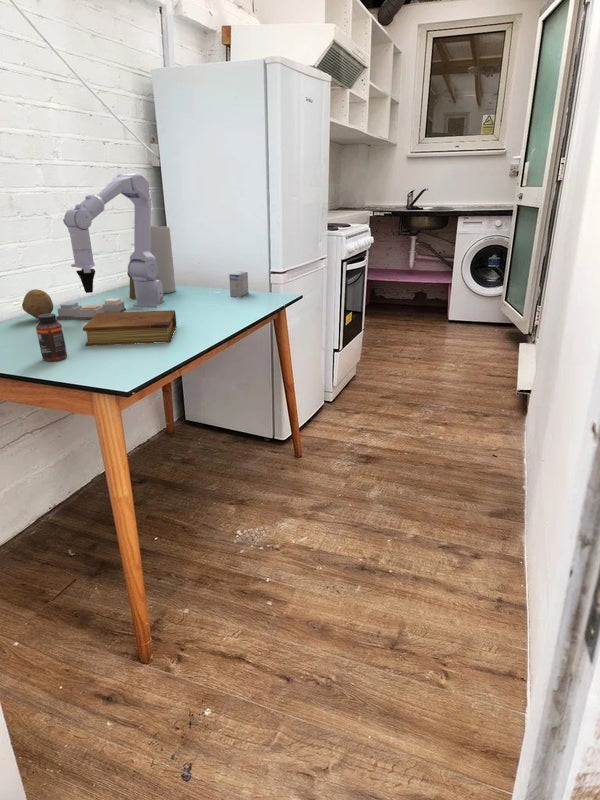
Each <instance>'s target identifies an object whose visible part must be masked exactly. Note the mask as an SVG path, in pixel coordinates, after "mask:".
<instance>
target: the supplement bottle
mask: <svg viewBox="0 0 600 800" xmlns="http://www.w3.org/2000/svg"><path fill="white" fill-rule="evenodd" d="M37 320H38V323H37V325H36V326H35V328H36V329H35V330H36V335H37V339H38V344H39V349H40V354H41V357H42V361H43V360H44V361H45V362H58V361H62V360H64V359H66V358H67V357H68V353H67V347H66V343H65V336H64V330H63V326H62V324H61V323H60V322H59V321H58V319H57V316H56V314H55V313H52V312H51V313H48V314H42V315H39V316H38V319H37Z"/></svg>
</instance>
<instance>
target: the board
mask: <svg viewBox="0 0 600 800" xmlns="http://www.w3.org/2000/svg"><path fill="white" fill-rule="evenodd" d="M83 308H84V307H83V306H82V305H80V304H78V307H75V308H73V309H61V306H60V307H58V308H57V316H56V320H87V321H90V320H91V319H92V318H93V317H94V316H95V315H96V314H97V313H110V312H127V308H126V306H125V301H123V300H121V302H120V303H118V304H105V302H103V303H101V305H100V307H99V308H97V309H95V310H93V309H83Z"/></svg>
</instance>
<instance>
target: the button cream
mask: <svg viewBox="0 0 600 800" xmlns="http://www.w3.org/2000/svg"><path fill="white" fill-rule="evenodd" d="M121 301H122V300H121V298H108V299H106V300H104V303H105V304H118V303H120V302H121Z"/></svg>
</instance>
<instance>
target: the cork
mask: <svg viewBox="0 0 600 800" xmlns="http://www.w3.org/2000/svg"><path fill="white" fill-rule="evenodd" d="M127 276H128V278H129V299H130V298H131V300H136V295H135V287H134V280H133V279H132V277H131V276H130V275H129V273H128V271H127Z"/></svg>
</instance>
